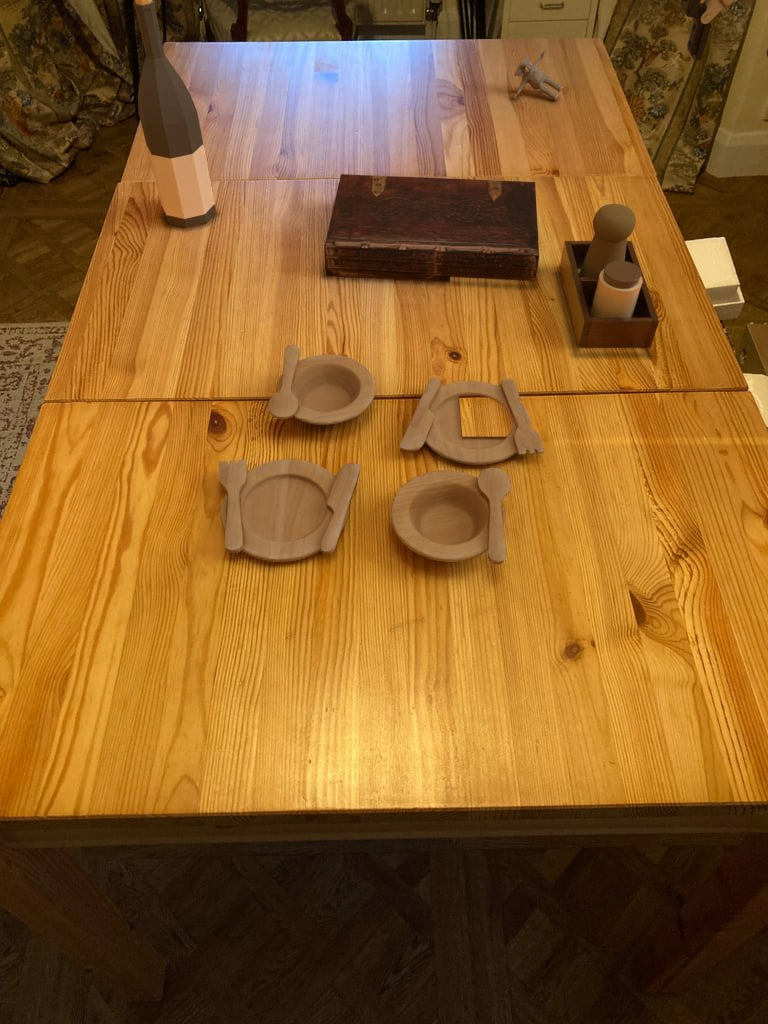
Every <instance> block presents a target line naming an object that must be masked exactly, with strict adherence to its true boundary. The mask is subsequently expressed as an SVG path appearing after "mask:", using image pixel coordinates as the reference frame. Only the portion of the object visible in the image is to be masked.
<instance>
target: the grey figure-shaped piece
mask: <svg viewBox="0 0 768 1024" xmlns="http://www.w3.org/2000/svg"><path fill="white" fill-rule="evenodd" d="M546 52H547V48H545V49H544V50H543V51H542V52H541V54H540V56H539V58H538V59H537V60H536V61H534V62H533V63H532V60H531V59H530V58H529V54H527V55H525V56H524V57H523V59H522V61H521V62H520V63H519V64H518V65H517V69H515V71H514V73H513V76H514V77H517V76H518V77H520V78H521V81H520V84H519V86H518V89H517V90H516V92H515V94H514V96H513V98H512V99H513V100H514V99H516V98H517V97H518V96H519V95H520V93H521V91H522V90H523V89H524V88H525V87H526V85H527V84H529V85H530V87H531V88H532V89H533V90H539V91H540V92H542V93H544V94H545V95H547V97H549V98H551V99H552V100H553V101H556V100H557V99H558V97H559V94H558V93H561V91H562V90H563V88H564V86H563V85H561V84H559V83H557V82H556V81H555V80H553V79H552V78H551V77H549V76H546V74H545V72H544V71H543V70H539V69H538V68H539V67H540V63H541V61H542V59H544V57H545V54H546ZM546 85H548V86H549V87H551V88H552V89H554V90H555V91H557V92H558V93H556V92H554V90H552V89H550V88H549V87H548V86H546Z"/></svg>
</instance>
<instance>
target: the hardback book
mask: <svg viewBox="0 0 768 1024" xmlns="http://www.w3.org/2000/svg"><path fill="white" fill-rule="evenodd" d="M538 225H539V223H538V209H537V190H536V181H523V180H521V181H520V180H517V181H516V180H499V179H498V180H496V179H474V178H473V179H472V178H450V177H449V178H447V177H445V178H444V177H424V176H423V177H422V176H421V177H420V176H401V175H400V176H397V175H370V174H349V173H348V174H347V173H346V174H345V173H344V174H343V173H342V174H341V173H340V177H339V181H338V185H337V189H336V194H335V199H334V203H333V207H332V212H331V215H330V219H329V224H328V228H327V233H326V237H325V240H324V241H325V242H324V267H325V275H326V276H327V277H346V278H347V277H348V278H349V277H350V278H367V279H369V278H371V279H372V278H373V279H391V280H410V281H411V280H412V281H429V282H430V281H433V282H451V278H468V279H487V280H488V279H489V280H490V279H491V280H507V281H508V280H509V281H510V280H511V281H527V282H528V281H529V282H530V281H531V282H536V280H537V279H536V278H537V273H538V267H539V261H540V246H539V245H540V244H539V226H538Z"/></svg>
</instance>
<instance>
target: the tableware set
mask: <svg viewBox="0 0 768 1024" xmlns="http://www.w3.org/2000/svg"><path fill="white" fill-rule="evenodd" d="M300 354H301V352H300V347H299V346H298V345H297V344H287V345H286V347H285V349H284V355H283V356H284V357H283V365H282V374H281V375H280V377H279V379H278V381H277V384H276V390H275V391H276V392H275V394H273V395H272V396H271V397H270V399H269V401H268V403H267V408H268V412H269V413H270V415H271V416H272V417H273V418H276V419H278V420H279V419H280V420H286V419H289V418H294V419H296V420H298V421H300V422H304V423H307V424H310V425H319V426H326V425H328V426H331V425H336V424H341V423H345V422H347V421H348V422H349V421H351V420H353V419H355V418H357V417H358V416H360V415H362V414H363V413H364V412H365V411H366V410H367V409H368V408H369V407H370V406H371V405H372V403H373V401H374V399H375V395H376V392H377V391H376V390H377V384H376V381H375V378H374V375H373V374H372V373H371V372H370V370H369V369H368V368H367V367H366V366H365V365H364V364H362V363H361V362H359V361H357V360H356V359H353V358H351V357H348V356H345V355H341V354H318V355H312V356H308V357H305V358H302V359H300ZM515 382H516V381H515V380H513V379H511V378H505V379H502V380H501V381H500V386H498V385H496V384H493V383H489V382H485V381H479V380H462V381H455V382H449V383H446V384H444V385H442V381H441V379H440V378H438V377H431V378H430V379H429V381H428V382H427V384H426V386H425V389H424V390H423V393H422V395H421V397H420V400H419V402H418V404H417V407H416V408H415V410H414V413H413V415H412V417H411V420H410V421H409V424H408V427H407V428H406V431H405V433H404V435H403V437H402V440H401V442H400V444H399V451H400V452H403V453H408V454H411V453H412V454H413V453H416V452H417V451H419V450H420V449H421V448H422V447H423V446H424V445H427V447H428V448H429V449H431V450H432V451H433V452H434V453H436V454H437V455H438V456H440V457H442V458H445V459H447V460H449V461H451V462H455V463H458V464H463V465H469V466H485V465H486V466H487V465H493V464H496V463H500V462H503V461H505V460H507V459H509V458H511V457H513V456H514V455H516V454H518V456H526V455H527V453H528V455H534V454H535V452H536V453H537V454H538V455H541V454H544V453H545V449H544V446H543V442H542V440H541V437H540V434H539V433H538V431H536V430H534V429H533V428H532V426H531V425H532V422H531V417H530V413H529V411H528V410H527V408H526V406H525V404H524V403H522V401H521V398H520V393H519V390H518V388H517V385H516V383H515ZM461 396H479V397H480V396H481V397H484V398H487V399H490V400H493V401H494V402H496V403H498V404H499V405H500V406H502V407H503V408H504V409H505V411H507V413H508V415H509V417H510V421H511V429H510V432H509V433H508V435H507V436H463V426H462V425H463V424H462V414H461V412H462V411H461V402H460V397H461ZM247 463H248V461H247V459H245V458H243V459H238V462H237V461H236V459H233V460H229V463H228V461H226V460H223V461H218V480H219V484H220V486H221V487H222V488H223V489H224V490H225V492H226V493H225V496H224V498H223V500H222V503H221V508H220V517H221V523H222V527H223V530H224V532H225V534H224V547H225V550H226V552H228V553H229V554H238V553H240V552H242V553H244V554H246V555H248V556H250V557H252V558H255V559H258V560H261V561H265V562H271V563H290V562H295V561H300V560H303V559H307V558H310V557H312V556H314V555H317V554H318V553H320V552H321V553H322V554H323V555H327V556H328V555H331V554H333V553H334V552H335V550H336V548H337V545H338V543H339V539H340V535H341V532H342V531H343V530H344V528H345V525H346V523H347V519H348V516H349V510H350V508H349V507H350V504H351V502H352V499H353V495H354V492H355V490H356V486H357V483H358V480H359V477H360V474H361V470H362V465H361V464H360V463H355V462H348V463H345V464H343V465H342V466H341V467H340V468H339V470H338V471H337V473H336V475H335V474H334V473H333V472H332V471H330V470H329V469H327V468H325V467H324V466H321V465H319V464H317V463H315V462H312V461H307V460H303V459H296V458H295V459H294V458H291V459H289V458H288V459H287V458H286V459H277V460H271V461H267V462H264V463H261V464H259V465H257V466H255V467H253V468H251V469H249V470H248V464H247ZM511 488H512V480H511V478H510V476H509V475H508V473H507V472H505V471H504V470H503V469H500V468H499V467H488V468H485V469H483V470H482V471H480V473H479V474H478V476H477V477H476V476H474V475H471V474H469V473H466V472H462V471H458V470H457V471H456V470H442V469H441V470H433V471H428V472H424V473H421V474H419V475H417V476H415V477H413V478H411V479H409V480H408V481H407V482H405V483H404V484H403V485H402V486H401V487H400V488H399V489H398V491H397V492H396V493H395V495H394V497H393V500H392V502H391V507H390V520H391V525H392V527H393V530H394V533H395V534H396V536H397V538H398V539H399V540H400V541H401V543H402V544H403V545H404V546H405V547H407V549H408V550H410V551H411V552H413V553H415V554H417V555H419V556H421V557H424V558H426V559H428V560H432V561H438V562H447V563H449V562H450V563H456V562H464V561H468V560H471V559H474V558H477V557H479V556H482V555H483V554H485V553H486V552H487V559H488V561H489V562H490V564H491V563H492V565H502V564H503V563H504V562H505V560H506V556H507V551H506V550H507V549H506V539H505V530H504V526H505V522H506V521H505V519H506V516H505V515H506V514H505V508H504V505H503V503H502V502H503V500H504V499H505V498H506V497H507V496H508V495H509V493H510V491H511Z"/></svg>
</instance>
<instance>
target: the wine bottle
mask: <svg viewBox="0 0 768 1024" xmlns="http://www.w3.org/2000/svg"><path fill="white" fill-rule="evenodd" d="M133 8H134V9H135V13H136V17H137V22H138V26H139V31H140V35H141V39H142V45H143V48H144V53H145V57H144V62H143V67H142V71H141V73H140V77H139V83H138V91H137V110H138V111H137V113H138V117H139V120H140V121H139V122H140V125H141V128H142V133H143V137H144V140H145V145H146V149H147V153H148V157H149V161H150V166H151V169H152V173H153V177H154V181H155V186H156V189H157V193H158V197H159V202H160V205H161V209H162V212H163V215H164V217H165V218H166V220H167V222H168V225H170V226H171V225H172V226H175V227H179V228H180V227H181V228H185V229H187V228H193V227H196V226H201V225H206V224H207V223H208V222H209V221H210V220H211V219H212V218H213V217H214V216H215V215H216V203H215V199H214V194H213V189H212V183H211V178H210V172H209V167H208V161H207V156H206V152H205V146H204V140H203V136H202V135H203V134H202V130H201V129H202V128H201V124H200V119H199V114H198V110H197V107H196V105H195V102H194V100H193V98H192V94H191V93H190V92H189V90H188V88H187V86H186V84H185V81H184V80H183V79H182V77H181V75H180V74H179V73H178V72H177V70H176V68H175V67H174V66H173V64H171V62H170V60H169V58H167V56H166V53H165V49H164V45H163V40H162V35H161V29H160V25H159V20H158V15H157V10H156V3H155V0H134V1H133Z"/></svg>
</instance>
